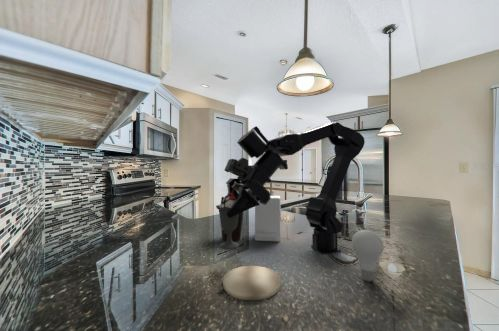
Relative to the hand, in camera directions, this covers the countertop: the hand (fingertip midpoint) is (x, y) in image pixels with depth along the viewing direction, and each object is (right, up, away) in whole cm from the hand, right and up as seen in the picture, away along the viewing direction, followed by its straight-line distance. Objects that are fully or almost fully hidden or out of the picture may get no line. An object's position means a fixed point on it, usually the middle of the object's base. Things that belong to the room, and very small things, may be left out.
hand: (224, 214), depth 54 cm
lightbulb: (+32, -13, -7) cm, 36 cm away
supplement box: (+13, -14, +24) cm, 31 cm away
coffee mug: (0, -14, +24) cm, 28 cm away
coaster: (+7, -13, -8) cm, 17 cm away
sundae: (+1, -8, 0) cm, 8 cm away
